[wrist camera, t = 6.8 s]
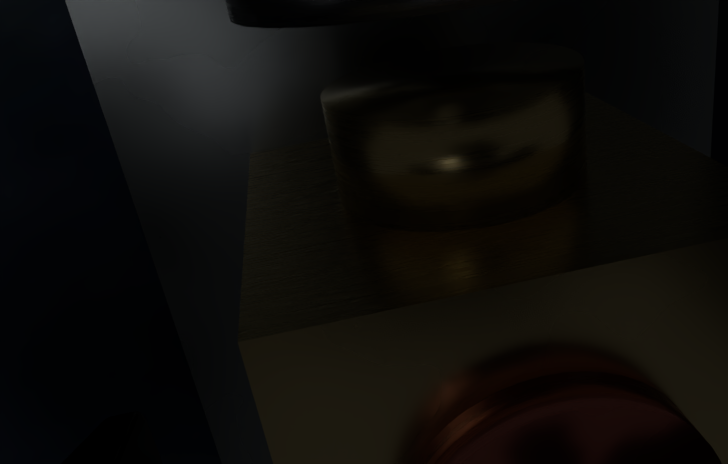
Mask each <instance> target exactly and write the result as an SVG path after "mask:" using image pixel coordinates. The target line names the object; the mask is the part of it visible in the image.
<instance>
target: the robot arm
mask: <svg viewBox="0 0 728 464" xmlns="http://www.w3.org/2000/svg"><path fill="white" fill-rule="evenodd" d="M62 464H162V460H161V457H160V455H159V452H158V450H157V447H156V444H155V442H154V439H153V437H152V434H151V431H150V429H149V426H148V424H147V421H146V419H145V417H144V416H143V415H142V414H141V413H140V412H137V411H135V412H130V413H126V414H121V415H116V416H112V417H109V418H107V419H105V420H104V421H103V422H102V423H101V424H100V425H99V426H98V427H97V428H96V429H95V430H94V431H93V432H92V433H91V434H90V435H89V436H88V437H87V438H86V439H85V440H84V441H83V442H82V443H81V444H80V445H79V446H78V447H77V448H76V449H75V450H74V451H73V452H72V453H71V454H70V455H69V456H68V457H67V459H66V460H65V461H64V462H63V463H62Z"/></svg>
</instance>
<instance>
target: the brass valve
mask: <svg viewBox="0 0 728 464" xmlns="http://www.w3.org/2000/svg"><path fill="white" fill-rule="evenodd" d="M321 103H322V108H323V113H324V118H325V123H326V128H327V134H328V138H326V139H321V140H316V141H311V142H306V143H301V144H296V145H291V146H286V147H281V148H276V149H271V150H266V151H261V152H256V153H251V154H250V165H249V180H248V195H247V210H246V225H245V240H244V255H243V270H242V285H241V300H240V315H239V330H238V345H239V349H240V352H241V355H242V359H243V362H244V366H245V369H246V373H247V376H248V379H249V383H250V386H251V390H252V393H253V396H254V400H255V403H256V407H257V410H258V413H259V417H260V420H261V424H262V427H263V430H264V434H265V437H266V441H267V444H268V448H269V451H270V454H271V458H272V461H273V464H728V167H727V166H725V165H723V164H721V163H720V162H718V161H716V160H714V159H712V158H710V157H708V156H706V155H704V154H702V153H701V152H699V151H697V150H695V149H693V148H691V147H689V146H687V145H685V144H684V143H682V142H680V141H678V140H676V139H674V138H672V137H670V136H668V135H666V134H665V133H663V132H661V131H659V130H657V129H655V128H653V127H651V126H649V125H647V124H646V123H644V122H642V121H640V120H638V119H636V118H634V117H632V116H630V115H629V114H627V113H625V112H623V111H621V110H619V109H617V108H615V107H613V106H611V105H610V104H608V103H606V102H604V101H602V100H600V99H598V98H596V97H594V96H592V95H591V94H589V93H587V92H585V68H584V58H583V56H582V55H581V54H580V53H578V52H577V51H575V50H573V49H570V48H566V47H562V46H558V45H551V44H543V43H526V42H506V43H487V44H474V45H464V46H457V47H449V48H442V49H436V50H430V51H425V52H419V53H415V54H410V55H405V56H401V57H397V58H393V59H389V60H386V61H382V62H379V63H375V64H372V65H369V66H366V67H363V68H361V69H358V70H355V71H353V72H351V73H348V74H346V75H344V76H342V77H340V78H338V79H337V80H335V81H333V82H332V83H330V84H329V85H328V86H327V87H326V88H325V89H324V90H323V91H322V93H321Z"/></svg>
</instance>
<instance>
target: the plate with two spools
mask: <svg viewBox="0 0 728 464" xmlns="http://www.w3.org/2000/svg"><path fill="white" fill-rule="evenodd" d="M65 1H66V4H67V7H68V10H69V13H70V16H71V19H72V22H73V25H74V28H75V31H76V34H77V37H78V40H79V43H80V46H81V49H82V52H83V55H84V57H85V60H86V63H87V66H88V69H89V72H90V75H91V78H92V81H93V84H94V87H95V90H96V93H97V96H98V99H99V102H100V105H101V108H102V111H103V114H104V117H105V120H106V123H107V126H108V129H109V131H110V134H111V137H112V140H113V143H114V146H115V149H116V152H117V155H118V158H119V161H120V164H121V167H122V170H123V173H124V176H125V179H126V182H127V185H128V188H129V191H130V194H131V197H132V200H133V202H134V205H135V208H136V211H137V214H138V217H139V220H140V223H141V226H142V229H143V232H144V235H145V238H146V241H147V244H148V247H149V250H150V253H151V256H152V259H153V262H154V265H155V268H156V271H157V274H158V276H159V279H160V282H161V285H162V288H163V291H164V294H165V297H166V300H167V303H168V306H169V309H170V312H171V315H172V318H173V321H174V324H175V327H176V330H177V333H178V336H179V339H180V342H181V345H182V348H183V350H184V353H185V356H186V359H187V362H188V365H189V368H190V371H191V374H192V377H193V380H194V383H195V386H196V389H197V392H198V395H199V398H200V401H201V404H202V407H203V410H204V413H205V416H206V419H207V422H208V424H209V427H210V430H211V433H212V436H213V439H214V442H215V445H216V448H217V451H218V454H219V457H220V460H221V463H222V464H273V461H272V458H271V454H270V451H269V448H268V444H267V441H266V437H265V434H264V430H263V427H262V424H261V420H260V417H259V413H258V410H257V407H256V403H255V400H254V396H253V393H252V390H251V386H250V383H249V379H248V376H247V373H246V369H245V366H244V362H243V359H242V355H241V352H240V349H239V345H238V330H239V315H240V300H241V285H242V270H243V255H244V240H245V225H246V210H247V195H248V180H249V165H250V154H251V153H256V152H261V151H266V150H271V149H276V148H281V147H286V146H291V145H296V144H301V143H306V142H311V141H316V140H321V139H326V138H328V134H327V128H326V123H325V118H324V113H323V108H322V103H321V93H322V91H323V90H324V89H325V88H326V87H327V86H328V85H329V84H330V83H332V82H333V81H335V80H337V79H338V78H340V77H342V76H344V75H346V74H348V73H351V72H353V71H355V70H358V69H361V68H363V67H366V66H369V65H372V64H375V63H379V62H382V61H386V60H389V59H393V58H397V57H401V56H405V55H410V54H415V53H419V52H425V51H430V50H436V49H442V48H449V47H457V46H464V45H474V44H487V43H506V42H526V43H543V44H551V45H558V46H562V47H566V48H570V49H573V50H575V51H577V52H578V53H580V54H581V55H582V56H583V58H584V68H585V92H587V93H589V94H591V95H592V96H594V97H596V98H598V99H600V100H602V101H604V102H606V103H608V104H610V105H611V106H613V107H615V108H617V109H619V110H621V111H623V112H625V113H627V114H629V115H630V116H632V117H634V118H636V119H638V120H640V121H642V122H644V123H646V124H647V125H649V126H651V127H653V128H655V129H657V130H659V131H661V132H663V133H665V134H666V135H668V136H670V137H672V138H674V139H676V140H678V141H680V142H682V143H684V144H685V145H687V146H689V147H691V148H693V149H695V150H697V151H699V152H701V153H702V154H704V155H706V156H708V157H710V158H711V141H712V122H713V104H714V86H715V67H716V49H717V31H718V12H719V0H65Z"/></svg>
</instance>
